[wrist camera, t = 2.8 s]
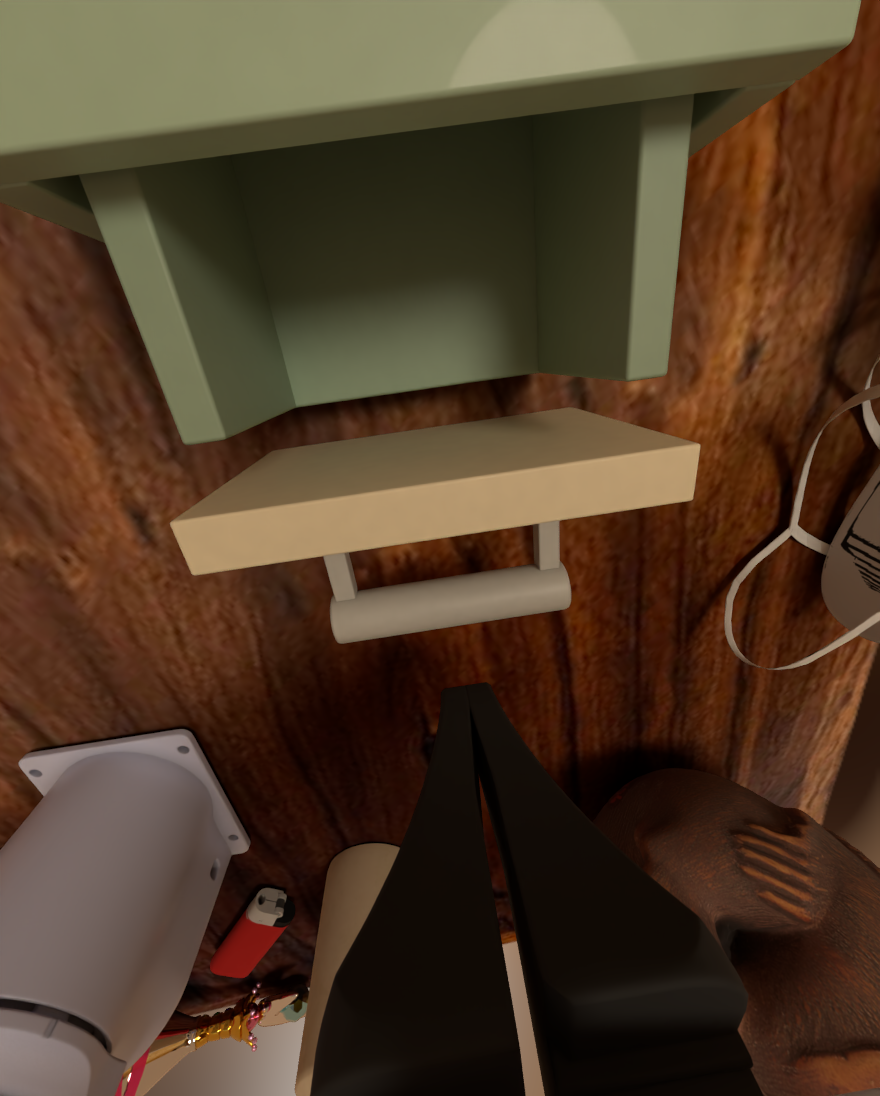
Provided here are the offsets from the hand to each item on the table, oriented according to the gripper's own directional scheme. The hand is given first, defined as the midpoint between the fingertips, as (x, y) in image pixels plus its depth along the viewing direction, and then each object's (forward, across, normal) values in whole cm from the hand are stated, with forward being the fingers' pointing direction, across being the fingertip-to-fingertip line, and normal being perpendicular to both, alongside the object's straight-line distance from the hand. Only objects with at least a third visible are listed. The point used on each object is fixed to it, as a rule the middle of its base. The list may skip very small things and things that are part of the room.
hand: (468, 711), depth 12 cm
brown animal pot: (+7, -10, +16) cm, 20 cm away
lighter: (+6, +15, +22) cm, 28 cm away
